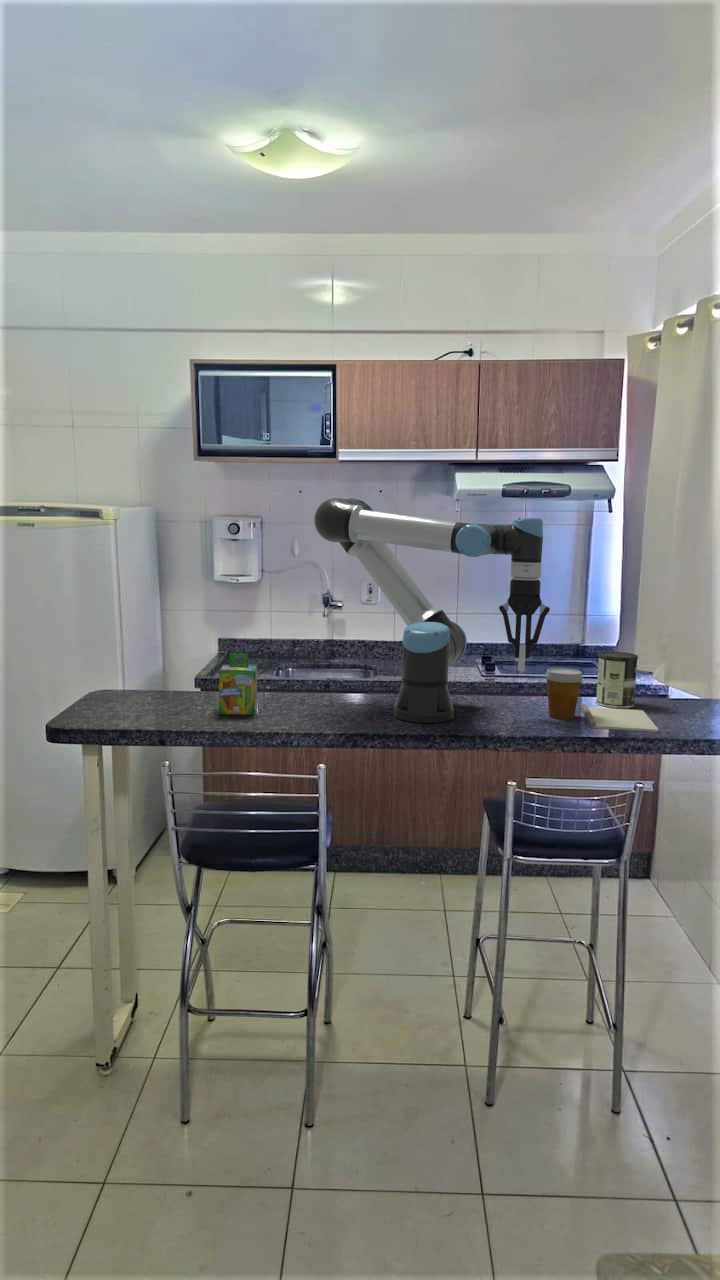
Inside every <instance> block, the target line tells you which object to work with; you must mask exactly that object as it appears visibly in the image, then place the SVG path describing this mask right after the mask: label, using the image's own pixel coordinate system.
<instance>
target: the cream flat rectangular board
mask: <svg viewBox="0 0 720 1280" xmlns="http://www.w3.org/2000/svg"><path fill="white" fill-rule="evenodd" d="M580 710H581V712H582V714H583V716H584V718H585V720H586V722H587V724H588V726H589V728H590V729H600V730H601V729H602V730H618V731H632V732H633V731H634V732H651V733H659V732H660V731H659V730H660V729H659V728H658V727H657V726H656V725H655V723H654V721H652V719H651V718H650V717H649V715H647V714H646V712H645V711H644V710H643V709H630V708H624V709H619V708H609V707H591V706H589V707H588V705H587V703H580Z"/></svg>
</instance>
